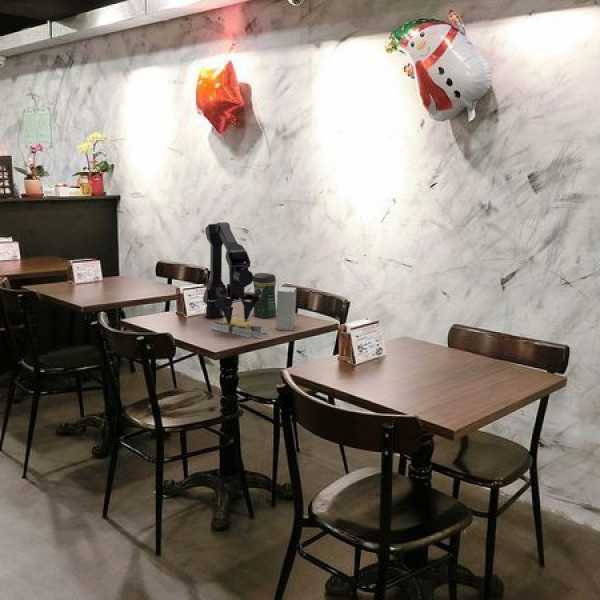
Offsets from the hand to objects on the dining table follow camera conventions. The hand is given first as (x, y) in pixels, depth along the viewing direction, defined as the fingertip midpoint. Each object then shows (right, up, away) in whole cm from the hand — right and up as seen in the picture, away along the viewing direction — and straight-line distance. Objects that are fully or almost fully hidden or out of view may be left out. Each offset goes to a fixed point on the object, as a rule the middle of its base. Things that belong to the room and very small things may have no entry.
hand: (237, 321), depth 252 cm
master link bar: (0, -3, +1) cm, 3 cm away
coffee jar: (+9, +1, +28) cm, 29 cm away
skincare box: (+19, -3, +7) cm, 20 cm away
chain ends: (+2, -4, -1) cm, 4 cm away
